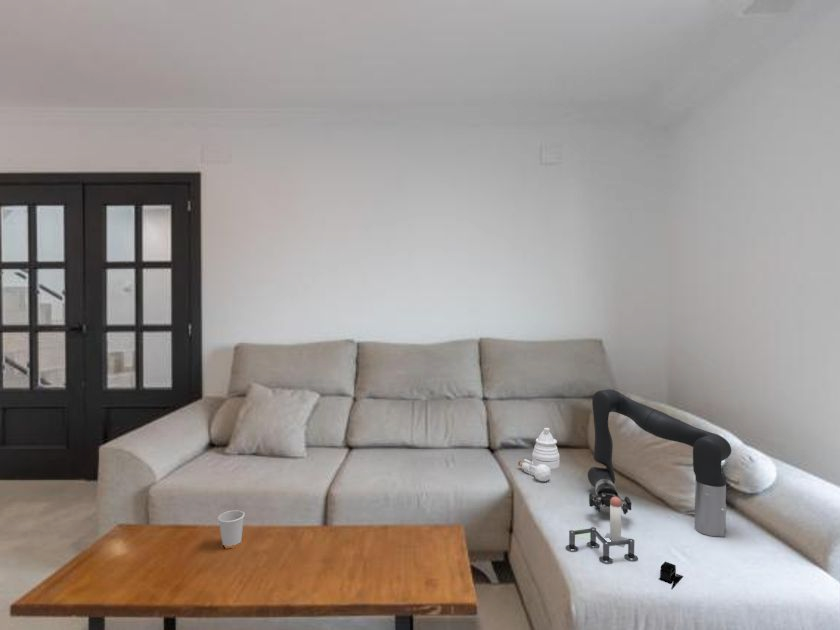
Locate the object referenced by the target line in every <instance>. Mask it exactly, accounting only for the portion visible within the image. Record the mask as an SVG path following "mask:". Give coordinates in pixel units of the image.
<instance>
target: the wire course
mask: <svg viewBox="0 0 840 630" xmlns="http://www.w3.org/2000/svg"><path fill="white" fill-rule="evenodd" d="M597 531H598V530H597V528H596V527H593V526H592V527H589V528H588V529H583V530H576V531H573V529H572V530H568V544H567V545H566V546H565V550H566V551H568V552H570V553H577V552H578V551H579V547H578V546H576V536H575V535H577V534H584V533H590V540H589V541H588V542H587V543H586V546H587V547H588V548H589V547H590V548H589V549H592V548H598V549H600V544H599V543H598V542H597V539H598V541H600V543H602V556H599V558H598V559H599V562H600V563H602V564H603V565H612V564H613V563H614V559H612V558H611V557H610V547H612V546H617V545H625V546H626V545H627V553H624V556H623V557H624V559H625V560H627V561H629V562H633V563H634V562H637V561H639V556H637V555H635V539H633V538H629V539H628V540H621V541H611V542H607V541H606V540H605V539H604V537H603V536H602V535H601V534H600V532H599V533H598V532H597Z"/></svg>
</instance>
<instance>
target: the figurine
mask: <svg viewBox="0 0 840 630" xmlns="http://www.w3.org/2000/svg"><path fill="white" fill-rule="evenodd" d="M523 461H524V462H523ZM523 461H521V460H519V462H518V466H519V467H522V469H523V471H524V472H525V473H527V474H529V475H531V476H534V478H535V479H536V480H538V482H544V483H545V482H547V481H548V480H549V479H550V478H551V476H552V471H551V470H552V469H549V467H547V466H546V465H544V464H539V465H538V466H534V465H533V462H532V460H529V459H526V458H524V459H523Z"/></svg>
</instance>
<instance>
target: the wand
mask: <svg viewBox="0 0 840 630" xmlns="http://www.w3.org/2000/svg"><path fill="white" fill-rule="evenodd" d="M620 498H621V497H620ZM620 498H618V497H612V498H611V499H610V507H609V533H610V540H611V541H621V537H622V509H621V504H622V502H621V500H620Z"/></svg>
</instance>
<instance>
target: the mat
mask: <svg viewBox="0 0 840 630" xmlns="http://www.w3.org/2000/svg"><path fill="white" fill-rule="evenodd" d="M603 538H609V539H610V532H607V533H606V534H605V536H604V537H603ZM628 539H630V538H628V537H624V536H621V540H628ZM616 547H621V548H625V547H626V544H625V545H616Z"/></svg>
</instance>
